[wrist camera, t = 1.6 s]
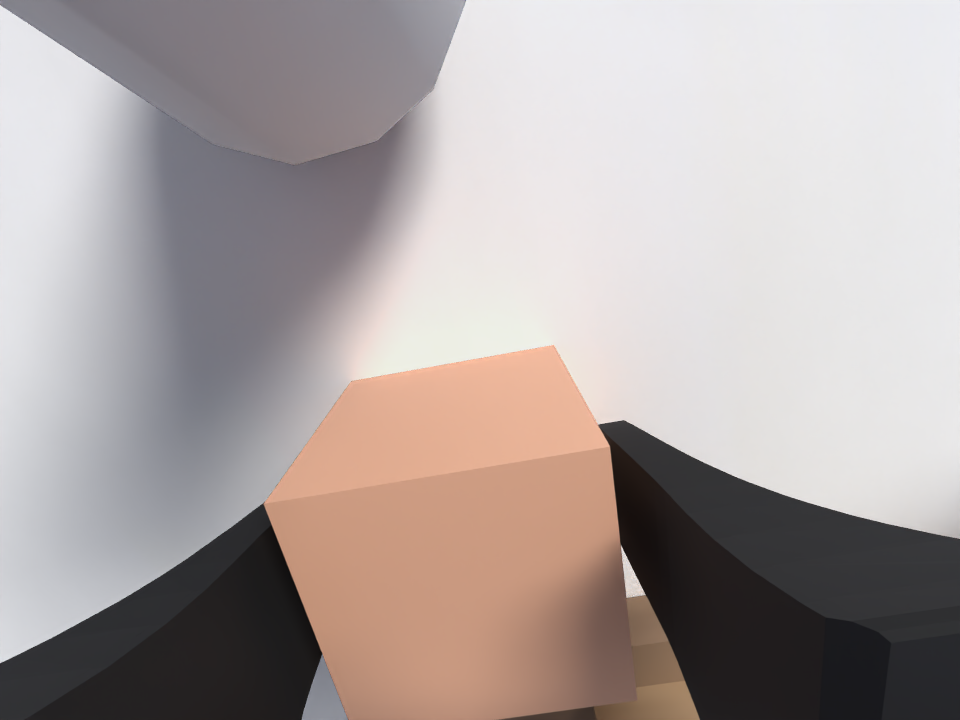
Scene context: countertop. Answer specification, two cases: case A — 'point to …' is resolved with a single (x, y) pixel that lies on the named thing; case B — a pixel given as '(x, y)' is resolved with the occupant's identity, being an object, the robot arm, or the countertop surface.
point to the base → (642, 677)
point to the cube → (461, 544)
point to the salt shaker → (263, 63)
